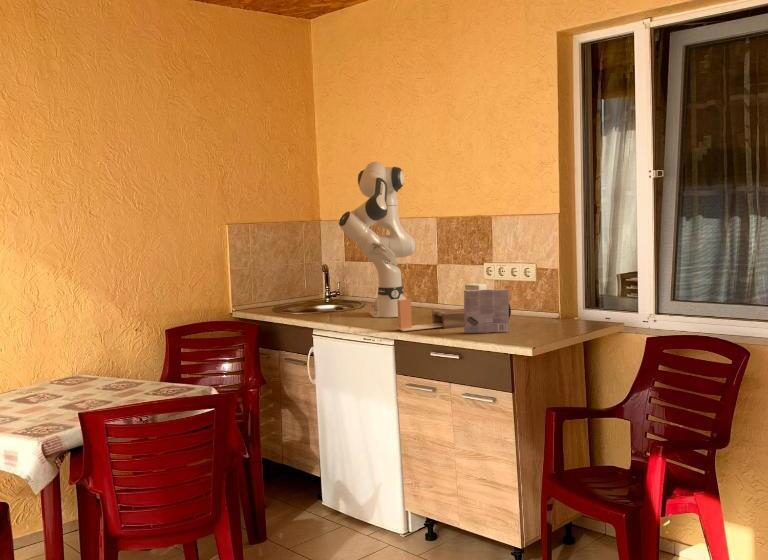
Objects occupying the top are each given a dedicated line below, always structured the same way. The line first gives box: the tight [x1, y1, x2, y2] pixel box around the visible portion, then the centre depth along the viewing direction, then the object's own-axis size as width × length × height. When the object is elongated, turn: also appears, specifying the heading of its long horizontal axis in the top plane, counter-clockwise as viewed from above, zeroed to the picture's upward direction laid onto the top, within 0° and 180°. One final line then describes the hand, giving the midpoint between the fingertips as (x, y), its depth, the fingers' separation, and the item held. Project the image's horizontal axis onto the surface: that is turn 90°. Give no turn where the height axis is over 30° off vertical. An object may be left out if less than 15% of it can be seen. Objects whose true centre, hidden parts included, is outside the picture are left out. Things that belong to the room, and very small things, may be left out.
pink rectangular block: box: [396, 298, 443, 332], centre depth 351 cm, size 8×21×13 cm, turn 110°
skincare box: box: [464, 282, 488, 290], centre depth 377 cm, size 8×7×16 cm
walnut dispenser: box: [431, 308, 464, 330], centre depth 357 cm, size 13×18×7 cm
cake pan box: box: [463, 288, 512, 334], centre depth 334 cm, size 19×5×18 cm, turn 88°
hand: (392, 264), depth 351 cm, fingers open, 8 cm apart
